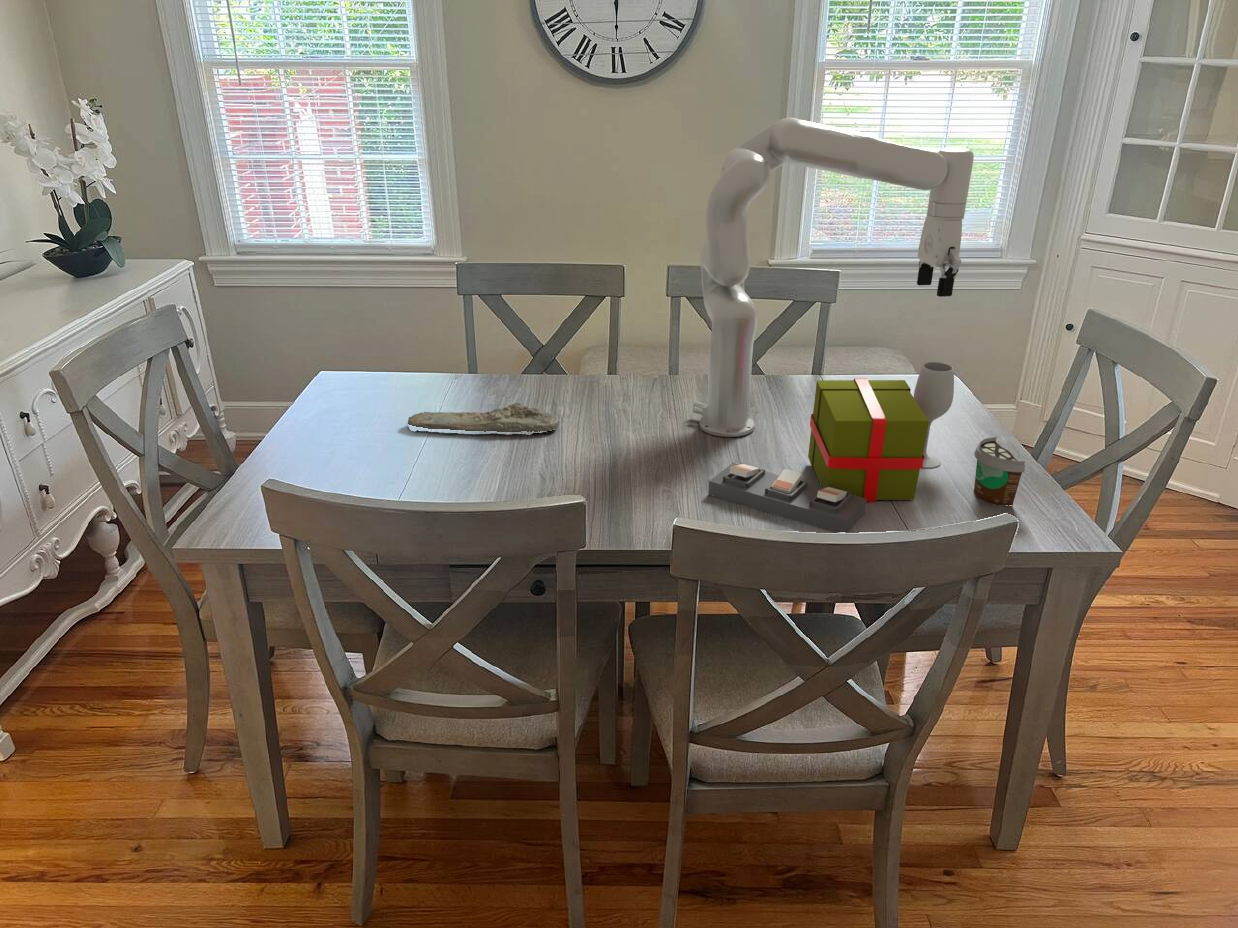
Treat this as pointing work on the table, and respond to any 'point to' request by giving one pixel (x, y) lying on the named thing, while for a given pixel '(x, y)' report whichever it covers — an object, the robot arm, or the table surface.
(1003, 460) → the food container
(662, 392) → the table surface
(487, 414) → the elongated rock
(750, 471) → the rocker
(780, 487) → the rocker
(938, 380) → the wineglass
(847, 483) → the gift box
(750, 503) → the power strip
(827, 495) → the rocker
